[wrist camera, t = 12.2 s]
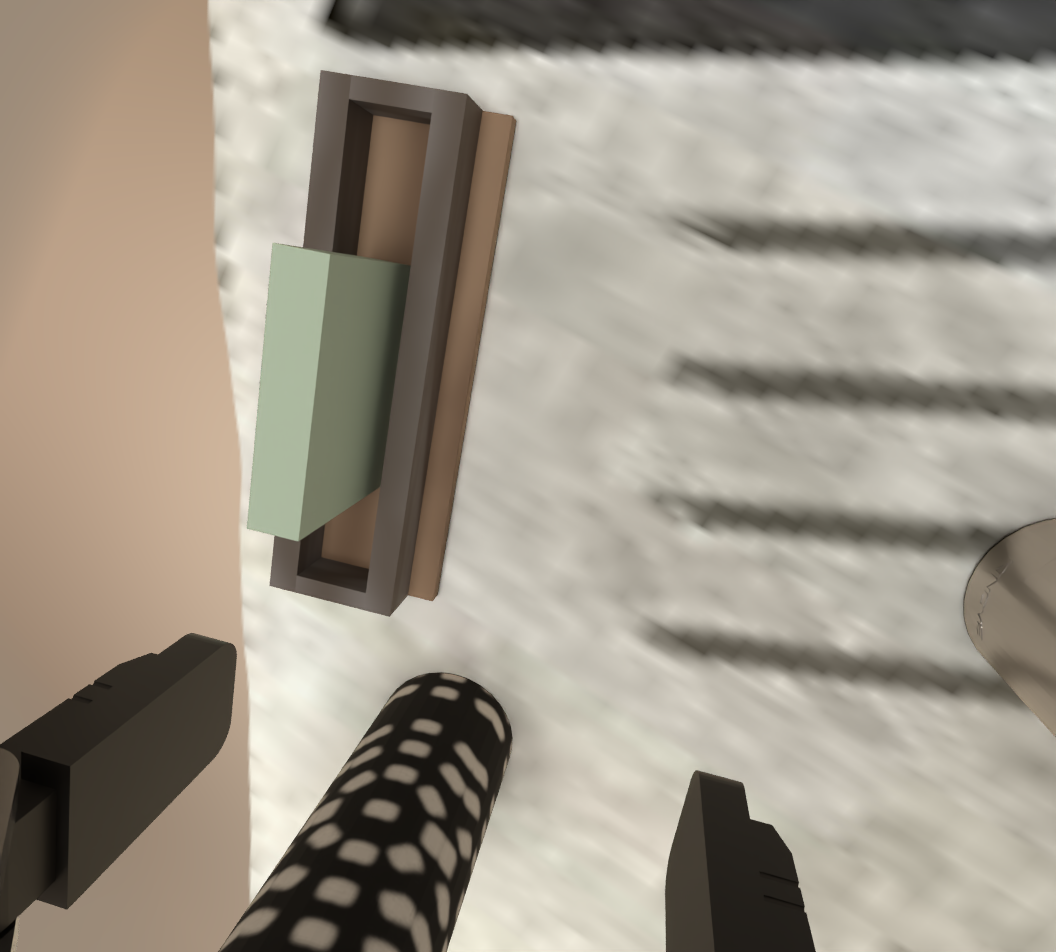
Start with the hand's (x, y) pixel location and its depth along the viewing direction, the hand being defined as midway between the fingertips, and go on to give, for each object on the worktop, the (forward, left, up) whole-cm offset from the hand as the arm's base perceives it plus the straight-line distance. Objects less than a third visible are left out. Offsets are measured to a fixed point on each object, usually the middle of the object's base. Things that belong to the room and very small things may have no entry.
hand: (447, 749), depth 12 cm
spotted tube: (+5, +20, -28) cm, 35 cm away
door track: (+12, -2, -28) cm, 31 cm away
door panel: (+12, -1, -27) cm, 30 cm away
